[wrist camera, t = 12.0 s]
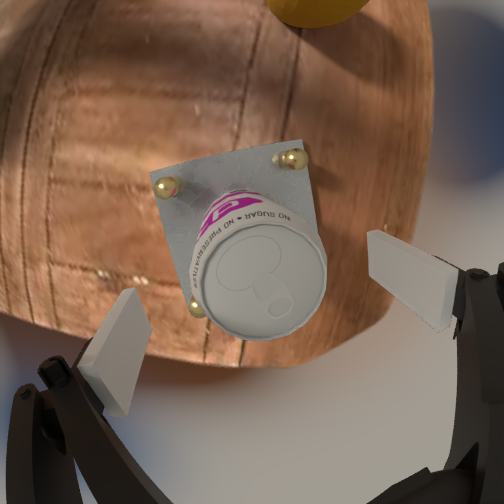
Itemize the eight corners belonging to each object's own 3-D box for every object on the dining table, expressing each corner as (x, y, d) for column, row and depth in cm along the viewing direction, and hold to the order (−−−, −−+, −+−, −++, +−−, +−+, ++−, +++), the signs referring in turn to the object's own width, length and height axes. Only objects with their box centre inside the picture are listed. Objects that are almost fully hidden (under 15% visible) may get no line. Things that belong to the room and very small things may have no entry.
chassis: (190, 307, 32) (185, 329, 27) (151, 172, 27) (138, 172, 22) (321, 276, 33) (336, 293, 28) (299, 139, 28) (314, 134, 23)
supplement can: (186, 219, 28) (155, 271, 14) (253, 173, 27) (290, 177, 13) (231, 279, 30) (244, 370, 16) (294, 237, 30) (358, 297, 16)
